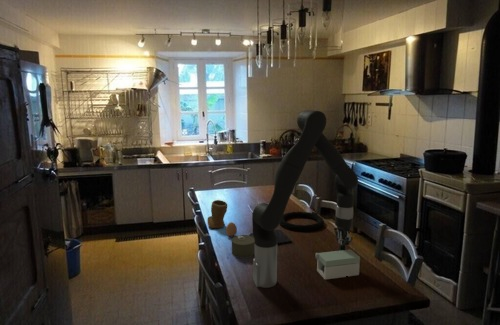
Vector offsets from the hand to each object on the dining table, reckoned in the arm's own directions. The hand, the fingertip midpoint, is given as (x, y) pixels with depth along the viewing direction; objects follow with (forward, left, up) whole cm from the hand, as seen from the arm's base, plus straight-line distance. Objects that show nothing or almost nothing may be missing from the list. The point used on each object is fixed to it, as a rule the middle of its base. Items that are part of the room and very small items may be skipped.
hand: (341, 251), depth 160 cm
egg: (-42, +46, -7) cm, 63 cm away
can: (-40, +24, -7) cm, 47 cm away
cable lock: (+4, +56, -7) cm, 57 cm away
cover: (-5, -5, -1) cm, 7 cm away
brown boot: (-47, +65, -7) cm, 81 cm away
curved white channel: (-5, -6, -7) cm, 10 cm away
